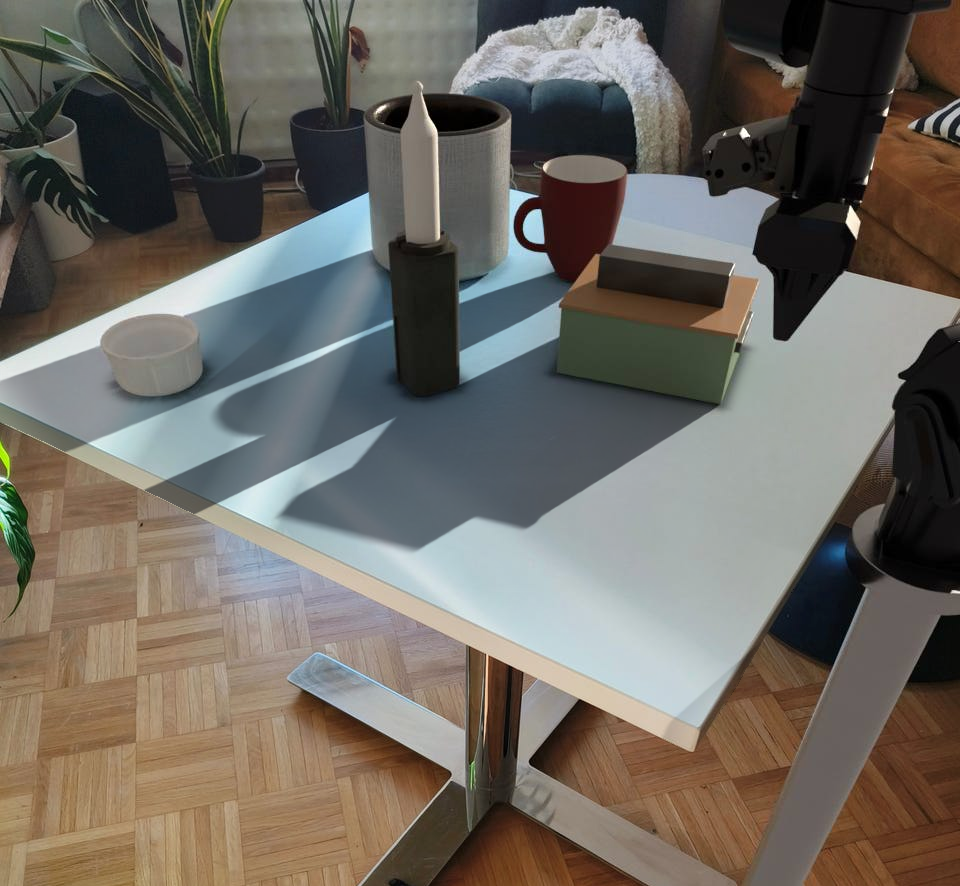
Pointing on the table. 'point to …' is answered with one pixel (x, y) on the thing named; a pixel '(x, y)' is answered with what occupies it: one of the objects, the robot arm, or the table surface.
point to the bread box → (653, 338)
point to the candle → (424, 267)
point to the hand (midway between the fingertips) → (788, 314)
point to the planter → (446, 176)
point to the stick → (665, 275)
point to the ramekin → (154, 353)
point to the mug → (575, 211)
